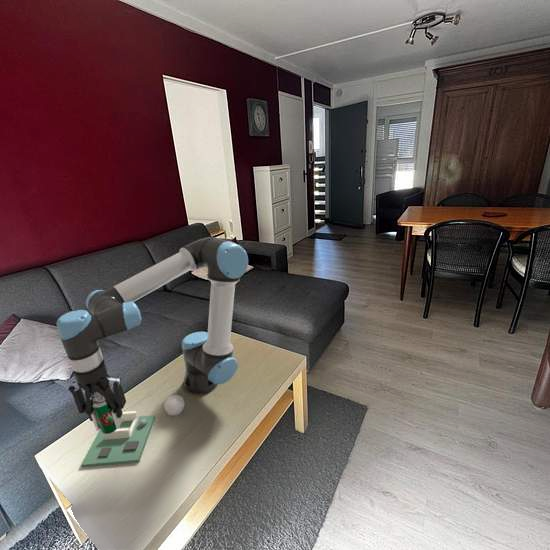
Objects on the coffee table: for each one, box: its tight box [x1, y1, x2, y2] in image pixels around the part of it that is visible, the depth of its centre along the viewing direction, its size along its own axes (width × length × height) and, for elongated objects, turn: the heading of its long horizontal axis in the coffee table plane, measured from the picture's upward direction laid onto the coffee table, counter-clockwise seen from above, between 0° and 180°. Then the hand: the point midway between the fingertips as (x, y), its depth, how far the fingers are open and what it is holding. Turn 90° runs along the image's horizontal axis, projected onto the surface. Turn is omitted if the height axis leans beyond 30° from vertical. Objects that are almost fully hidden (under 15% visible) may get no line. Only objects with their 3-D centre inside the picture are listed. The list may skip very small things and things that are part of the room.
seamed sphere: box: [156, 394, 185, 416], centre depth 115 cm, size 10×7×7 cm
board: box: [80, 410, 156, 468], centre depth 105 cm, size 18×18×5 cm
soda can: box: [92, 393, 117, 434], centre depth 90 cm, size 5×5×12 cm
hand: (109, 425), depth 92 cm, fingers closed on soda can, 5 cm apart
